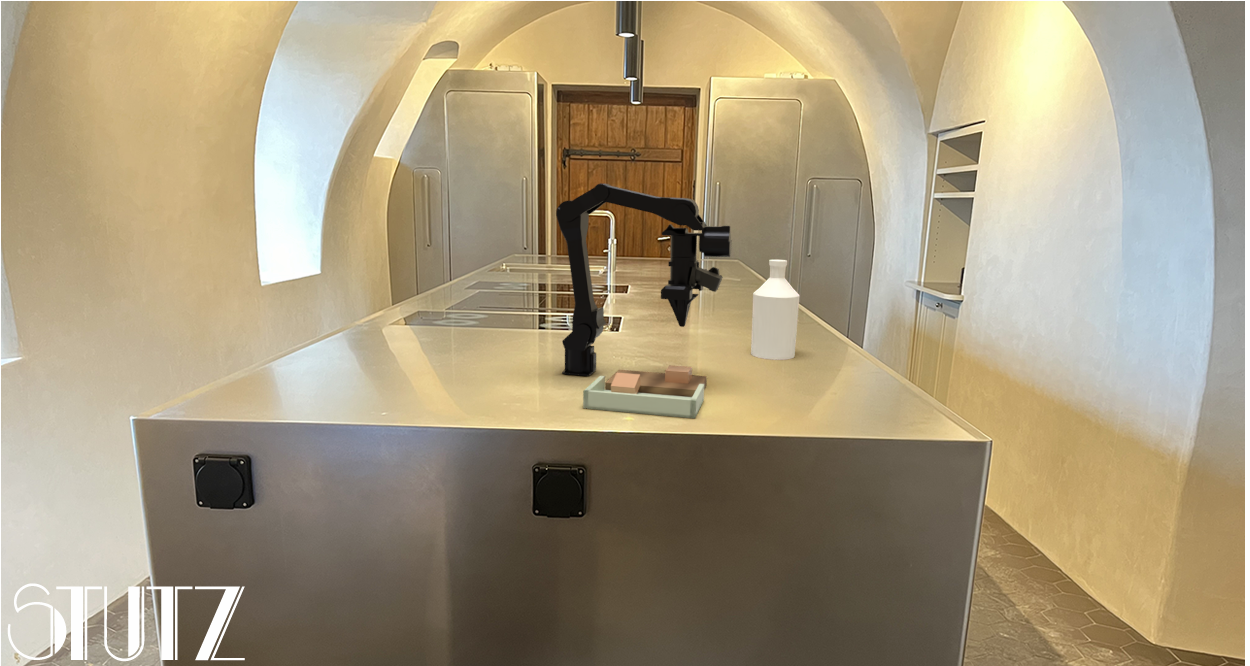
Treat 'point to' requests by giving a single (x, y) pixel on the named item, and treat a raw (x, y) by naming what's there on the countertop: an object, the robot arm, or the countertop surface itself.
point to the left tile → (626, 383)
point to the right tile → (678, 374)
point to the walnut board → (662, 384)
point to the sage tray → (642, 401)
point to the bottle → (775, 316)
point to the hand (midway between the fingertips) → (682, 326)
